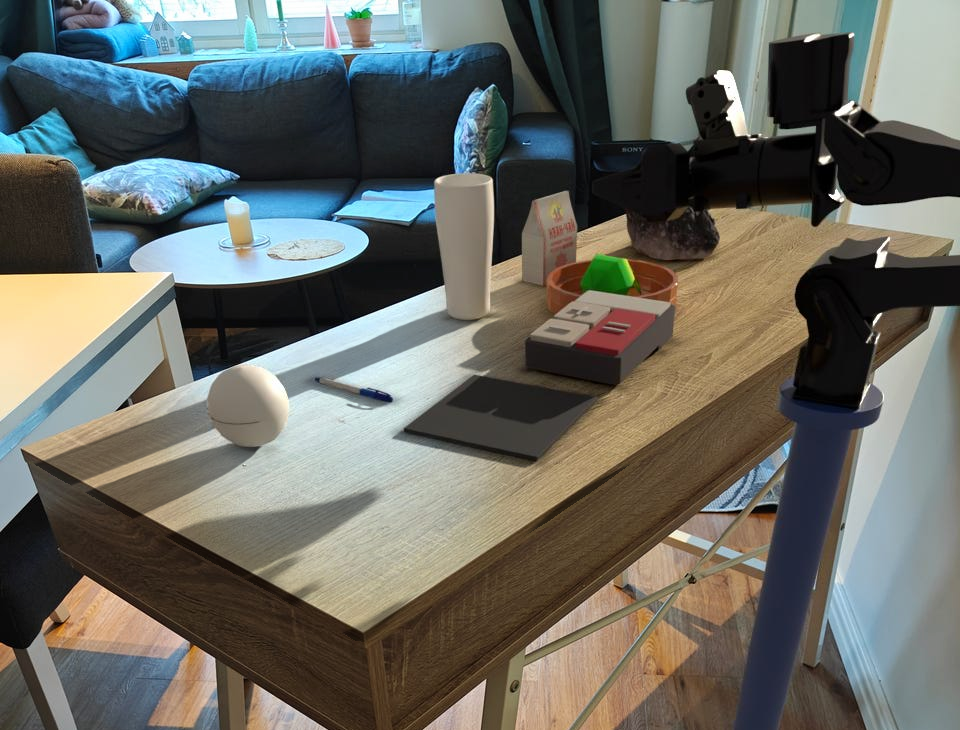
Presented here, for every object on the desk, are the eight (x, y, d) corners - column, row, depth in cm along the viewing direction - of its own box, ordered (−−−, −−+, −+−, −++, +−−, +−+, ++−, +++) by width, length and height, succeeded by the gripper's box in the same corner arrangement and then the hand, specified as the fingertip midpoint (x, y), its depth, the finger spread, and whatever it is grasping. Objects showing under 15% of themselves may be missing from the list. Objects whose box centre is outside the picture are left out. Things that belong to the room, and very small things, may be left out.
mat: (597, 400, 89) (597, 396, 88) (537, 461, 79) (537, 457, 79) (474, 378, 94) (473, 374, 94) (403, 432, 85) (403, 428, 84)
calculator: (522, 333, 93) (586, 284, 102) (523, 372, 96) (585, 321, 105) (619, 351, 88) (677, 297, 97) (618, 391, 91) (674, 335, 100)
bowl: (691, 295, 112) (695, 266, 110) (648, 337, 101) (651, 306, 99) (577, 281, 118) (578, 253, 116) (525, 318, 107) (525, 289, 105)
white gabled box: (522, 280, 119) (521, 199, 113) (554, 268, 123) (556, 188, 116) (543, 285, 117) (544, 203, 111) (575, 273, 121) (578, 192, 114)
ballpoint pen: (395, 401, 91) (394, 392, 90) (390, 404, 90) (389, 395, 89) (317, 381, 95) (316, 372, 95) (312, 384, 95) (311, 375, 94)
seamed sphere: (266, 418, 88) (252, 345, 83) (310, 441, 84) (298, 365, 79) (175, 453, 83) (155, 377, 78) (218, 480, 78) (199, 401, 74)
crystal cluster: (734, 248, 129) (741, 171, 124) (700, 265, 120) (706, 182, 115) (648, 245, 136) (651, 171, 130) (609, 260, 126) (611, 182, 121)
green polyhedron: (596, 248, 102) (634, 229, 107) (560, 279, 107) (597, 259, 112) (629, 303, 103) (665, 280, 109) (592, 331, 108) (628, 308, 113)
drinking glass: (433, 321, 108) (424, 185, 98) (451, 303, 113) (444, 171, 103) (487, 325, 106) (483, 187, 97) (502, 306, 111) (500, 173, 102)
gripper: (799, 72, 86) (647, 92, 94) (739, 67, 72) (567, 91, 80) (791, 200, 91) (647, 209, 99) (733, 218, 78) (572, 227, 85)
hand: (612, 184), depth 91 cm, fingers open, 9 cm apart
